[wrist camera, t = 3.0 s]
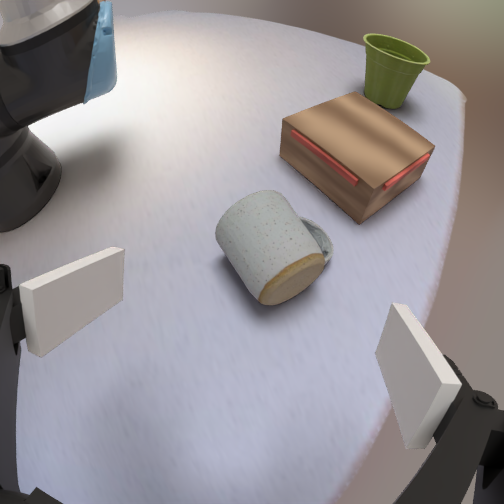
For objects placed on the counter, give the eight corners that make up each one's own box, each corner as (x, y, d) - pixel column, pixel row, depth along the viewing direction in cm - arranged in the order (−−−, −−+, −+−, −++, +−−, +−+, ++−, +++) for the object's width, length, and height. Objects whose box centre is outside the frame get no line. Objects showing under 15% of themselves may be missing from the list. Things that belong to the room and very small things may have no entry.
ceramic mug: (259, 321, 29) (263, 284, 23) (216, 256, 33) (210, 207, 27) (346, 269, 33) (369, 224, 26) (300, 215, 36) (311, 164, 30)
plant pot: (396, 125, 46) (415, 68, 37) (339, 93, 51) (349, 37, 41) (422, 106, 50) (439, 57, 41) (372, 78, 55) (382, 30, 45)
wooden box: (359, 228, 35) (374, 193, 30) (277, 156, 41) (279, 119, 36) (421, 179, 40) (437, 148, 34) (347, 123, 46) (355, 91, 40)
